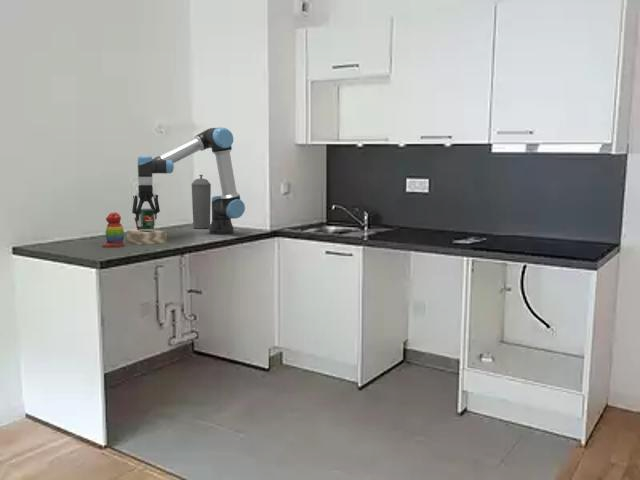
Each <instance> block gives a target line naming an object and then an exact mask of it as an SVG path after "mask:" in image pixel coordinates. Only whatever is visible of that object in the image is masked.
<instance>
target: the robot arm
mask: <svg viewBox="0 0 640 480" xmlns="http://www.w3.org/2000/svg"><path fill="white" fill-rule="evenodd" d="M233 143H234V135H233V133H232V131H231V130H229V129H228V128H226V127H220V126H219V127H210V128H208V129H205V130H203V131H202V132H200V133H198V134H197V135H194V136H193V138H192V139H190V140H188V141H186V142H184V143H183V144H179V145H178V146H176V147H173V148H172V149H170V150H168V151H166V152H164V153H162V154H160V155H158V156H156V157H154V158H153V157H152V156H150V155H148V156H147V155H142V156H141V155H139V156H138V157H137V174H138V175H137V178H138V181H137V183H138V193H137V194H136V195H132V197H133V202H132V209H131V210H132V212H131V213H132V214H134V215H135V217H136V220H137V225H138V226H139V227H141V215H139V213H140V210H141V209H143V204H144V203H145V202H146V203H148V204H149V206H150V209H154V210H153V211H154V227H155V226H156V220H157V217H158V215H157V214H158V213H160V212H161V211H160V204H159V194H154V193H153V192H154V188H153V183H154V182H153V174H166V175H168V174H172V173H173V172H174V170H175V169H174V168H175V165H174V164H175V163H177V162H180V161H181V160H183V159H185V158H187V157H188V156H191V155H193V154H195V153H197V152H199V151H205V150H208V149H211V152H212V153H213V154H214V155H215V160H216V165H217V167H216V168H217V171H218V178H219V184H220V189H221V195H215V196H212V197H211V221H210V228H208V231H209V232H208V233H209V234H211V235H230V234H234V232H235V229H234V227H233V223H232V219H238V218H241V217H242V216H243V214H244V213H245V210H246V206H245V203H244V201H243V200H242V199H241V195H240V193H239V192H238V191H237V187H236V182H235V175H234V170H233V168H234V167H233V163H232V157H231V152H232V150H233V147H232V146H233ZM152 198H153V199H152ZM138 200H139V201H138Z"/></svg>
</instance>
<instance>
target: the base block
mask: <svg viewBox="0 0 640 480" xmlns="http://www.w3.org/2000/svg"><path fill="white" fill-rule="evenodd" d="M167 233H168V232H167V231H165V230H162V229H161V230H160V229H158V228H157V229H156V228H154V229H151V230H137V229H132V230H131V229H130V230H126V242H128V243H131V244H135V245H138V246H141V245H153V244H166V243H167V242H168V238H167V237H168V235H167Z"/></svg>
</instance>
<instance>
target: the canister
mask: <svg viewBox="0 0 640 480" xmlns="http://www.w3.org/2000/svg"><path fill="white" fill-rule="evenodd" d="M203 176H204V175H203V174H199V178H196V179H194V180H193V182H192V183H191V203H192V204H191V205H192V223H193V224H192V226H193V227H192V228H193V229H196V228H197V230H198V229H199V230H202V229H204V228H206V229H210V225H211V206H212V203H211V202H212V197H211V195H212V194H211V193H212V192H211V191H212V190H211V189H212V187H211V186H212V184H211V183H210V181H209V180H208V179H206V178H203Z"/></svg>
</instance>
